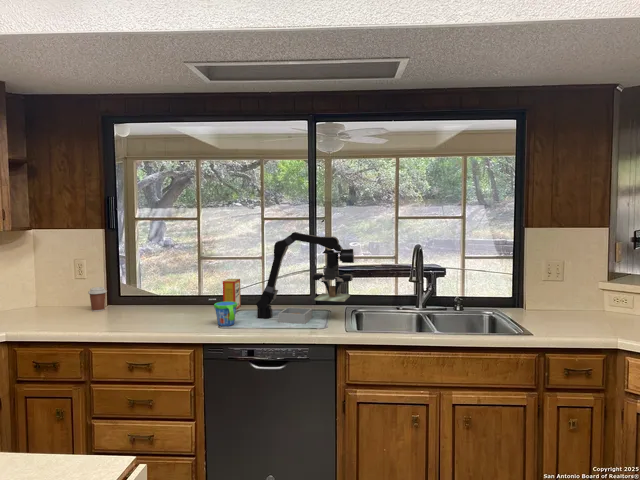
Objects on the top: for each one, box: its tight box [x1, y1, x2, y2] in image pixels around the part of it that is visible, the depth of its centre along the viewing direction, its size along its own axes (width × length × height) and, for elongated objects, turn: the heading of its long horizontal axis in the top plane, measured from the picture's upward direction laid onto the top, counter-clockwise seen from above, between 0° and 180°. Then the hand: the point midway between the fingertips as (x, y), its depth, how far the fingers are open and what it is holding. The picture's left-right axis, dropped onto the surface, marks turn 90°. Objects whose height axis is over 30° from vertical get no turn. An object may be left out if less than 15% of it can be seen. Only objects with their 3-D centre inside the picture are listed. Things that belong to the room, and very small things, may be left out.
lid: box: [314, 285, 351, 303], centre depth 227 cm, size 14×14×6 cm
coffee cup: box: [87, 286, 108, 312], centre depth 253 cm, size 9×9×12 cm
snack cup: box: [213, 301, 237, 327], centre depth 220 cm, size 16×10×10 cm
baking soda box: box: [222, 278, 242, 310], centre depth 256 cm, size 10×6×16 cm
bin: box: [278, 307, 313, 325], centre depth 226 cm, size 13×13×5 cm
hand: (332, 294), depth 227 cm, fingers closed on lid, 3 cm apart
